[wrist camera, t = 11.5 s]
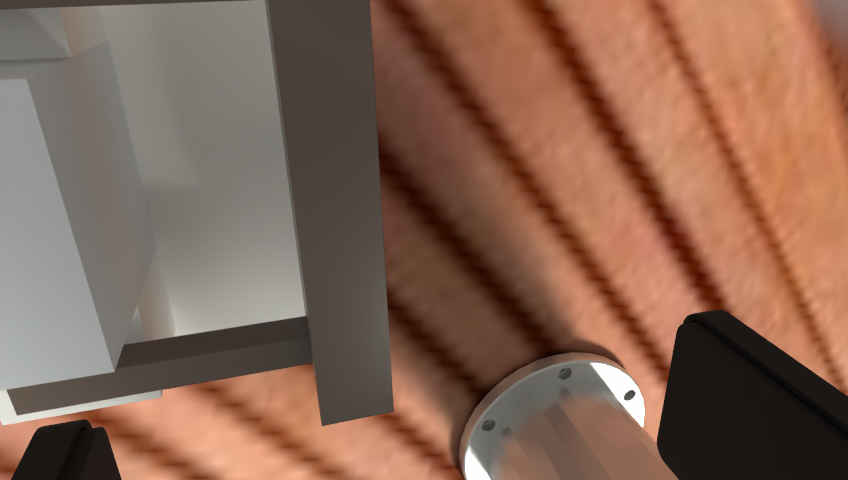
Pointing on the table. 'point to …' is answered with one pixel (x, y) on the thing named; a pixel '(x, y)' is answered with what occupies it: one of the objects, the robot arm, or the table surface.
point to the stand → (136, 186)
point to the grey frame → (314, 232)
